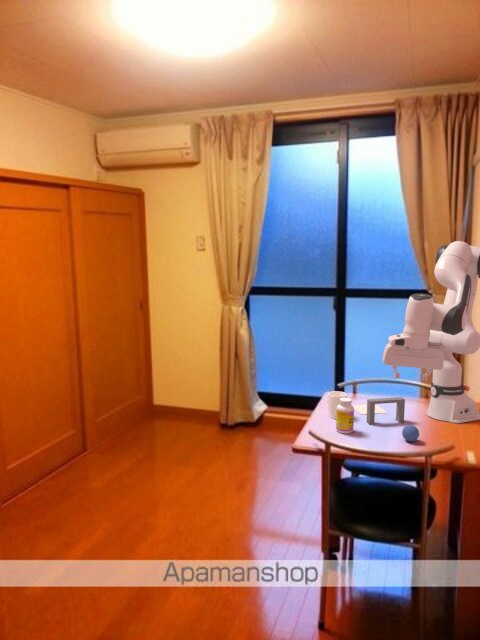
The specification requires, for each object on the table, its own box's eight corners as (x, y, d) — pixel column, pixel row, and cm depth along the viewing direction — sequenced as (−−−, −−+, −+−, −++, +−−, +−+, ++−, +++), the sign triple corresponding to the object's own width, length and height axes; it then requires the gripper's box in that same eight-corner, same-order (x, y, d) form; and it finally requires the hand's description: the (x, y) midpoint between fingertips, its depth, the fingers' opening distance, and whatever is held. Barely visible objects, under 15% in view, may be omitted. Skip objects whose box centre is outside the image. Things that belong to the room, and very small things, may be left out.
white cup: (348, 419, 205) (348, 396, 203) (329, 419, 205) (329, 396, 204) (344, 413, 213) (345, 391, 211) (326, 413, 213) (326, 391, 211)
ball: (413, 437, 186) (414, 422, 185) (422, 443, 180) (422, 427, 179) (398, 438, 185) (399, 423, 184) (406, 444, 179) (407, 429, 178)
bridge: (366, 422, 202) (367, 399, 201) (400, 419, 205) (401, 397, 203) (369, 424, 199) (370, 401, 198) (403, 422, 202) (405, 399, 200)
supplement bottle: (349, 435, 188) (350, 403, 186) (333, 432, 192) (334, 400, 190) (355, 429, 194) (356, 398, 192) (339, 426, 197) (340, 395, 195)
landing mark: (375, 404, 225) (375, 403, 225) (387, 412, 213) (387, 412, 213) (350, 405, 222) (350, 405, 222) (361, 414, 211) (361, 414, 211)
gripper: (443, 341, 173) (438, 379, 175) (384, 336, 175) (379, 373, 177) (449, 345, 166) (443, 384, 169) (387, 339, 168) (382, 378, 171)
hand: (410, 379), depth 173 cm, fingers open, 8 cm apart
